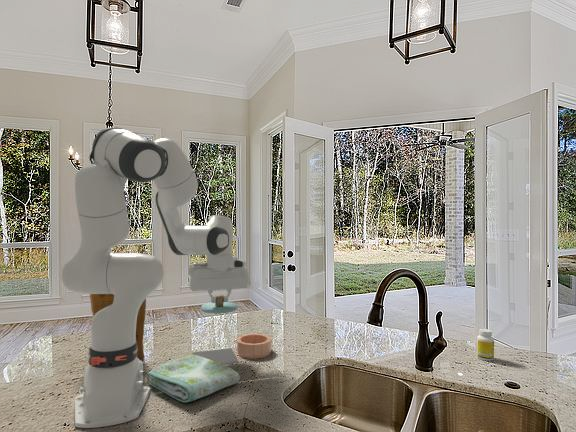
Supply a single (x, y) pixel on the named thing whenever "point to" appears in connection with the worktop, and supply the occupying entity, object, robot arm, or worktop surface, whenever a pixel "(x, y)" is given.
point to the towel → (192, 377)
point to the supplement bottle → (485, 345)
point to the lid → (219, 306)
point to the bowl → (253, 345)
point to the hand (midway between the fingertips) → (219, 302)
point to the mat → (219, 356)
